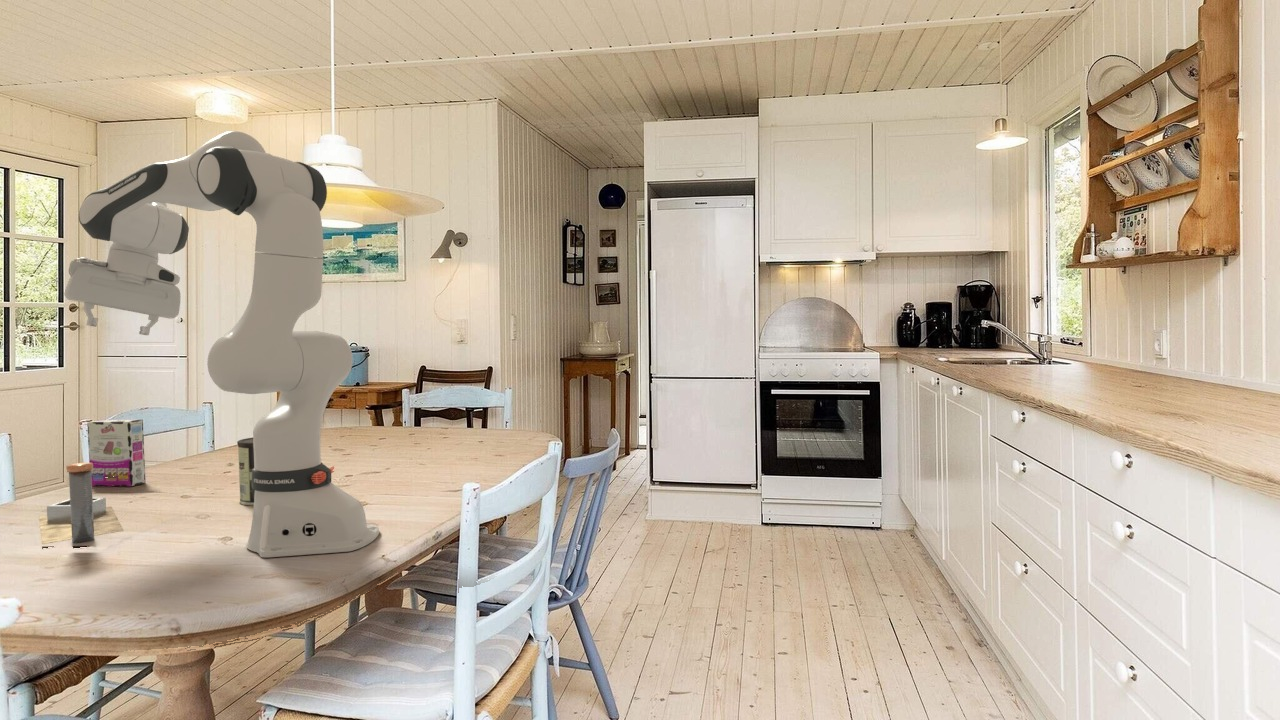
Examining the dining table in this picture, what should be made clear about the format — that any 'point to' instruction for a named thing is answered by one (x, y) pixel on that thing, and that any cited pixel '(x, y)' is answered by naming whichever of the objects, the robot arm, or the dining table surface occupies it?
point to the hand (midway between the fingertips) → (118, 330)
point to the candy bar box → (116, 452)
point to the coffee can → (246, 470)
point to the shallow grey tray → (63, 509)
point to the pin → (81, 502)
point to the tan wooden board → (63, 529)
